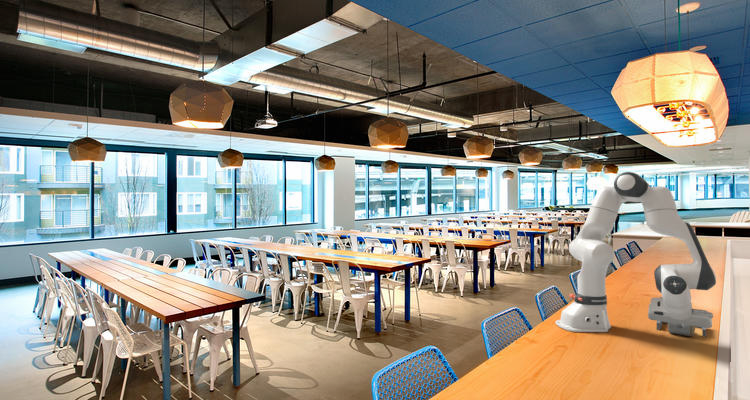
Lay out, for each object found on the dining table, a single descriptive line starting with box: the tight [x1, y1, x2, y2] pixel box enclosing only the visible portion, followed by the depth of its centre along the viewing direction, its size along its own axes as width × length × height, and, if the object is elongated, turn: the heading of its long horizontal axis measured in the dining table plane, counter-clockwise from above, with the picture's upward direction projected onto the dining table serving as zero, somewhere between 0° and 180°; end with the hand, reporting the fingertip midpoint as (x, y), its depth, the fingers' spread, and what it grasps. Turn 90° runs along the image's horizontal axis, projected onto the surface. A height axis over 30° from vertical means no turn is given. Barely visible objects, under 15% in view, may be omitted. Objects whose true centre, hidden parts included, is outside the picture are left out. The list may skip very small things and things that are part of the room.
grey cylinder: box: [667, 322, 696, 337], centre depth 164 cm, size 11×8×8 cm
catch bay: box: [655, 321, 707, 338], centre depth 169 cm, size 14×16×3 cm
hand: (679, 326), depth 160 cm, fingers closed
